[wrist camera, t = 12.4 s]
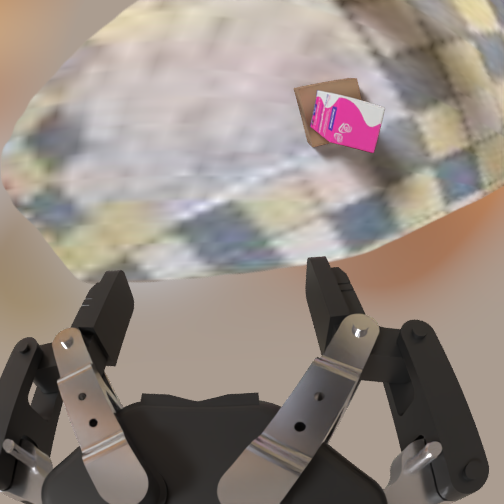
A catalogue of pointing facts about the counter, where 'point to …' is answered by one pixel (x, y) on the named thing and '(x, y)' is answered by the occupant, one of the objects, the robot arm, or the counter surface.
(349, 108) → the supplement box
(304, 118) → the brown cardboard box
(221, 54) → the counter surface
